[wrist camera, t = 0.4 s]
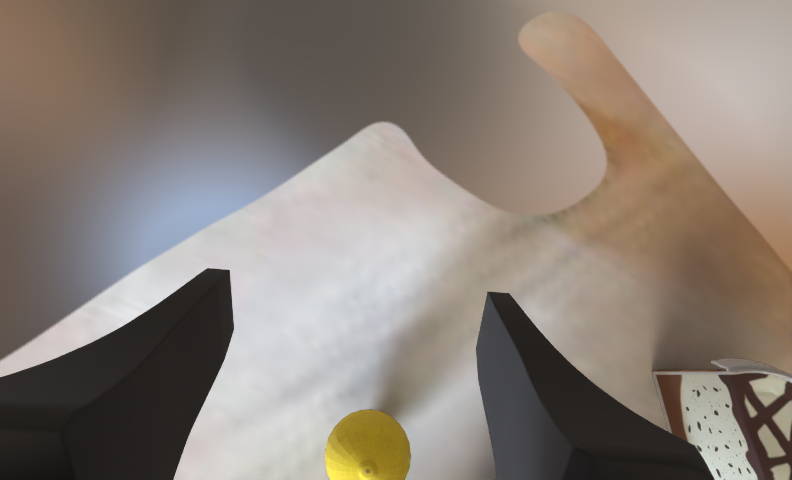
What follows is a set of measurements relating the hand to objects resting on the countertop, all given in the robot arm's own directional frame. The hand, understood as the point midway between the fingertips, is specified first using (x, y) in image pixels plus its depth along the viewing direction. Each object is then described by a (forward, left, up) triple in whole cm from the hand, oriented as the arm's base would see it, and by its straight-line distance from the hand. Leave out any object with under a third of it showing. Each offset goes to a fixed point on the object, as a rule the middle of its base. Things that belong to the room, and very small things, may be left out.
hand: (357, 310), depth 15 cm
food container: (-6, -26, -26) cm, 37 cm away
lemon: (-9, -1, -26) cm, 27 cm away
